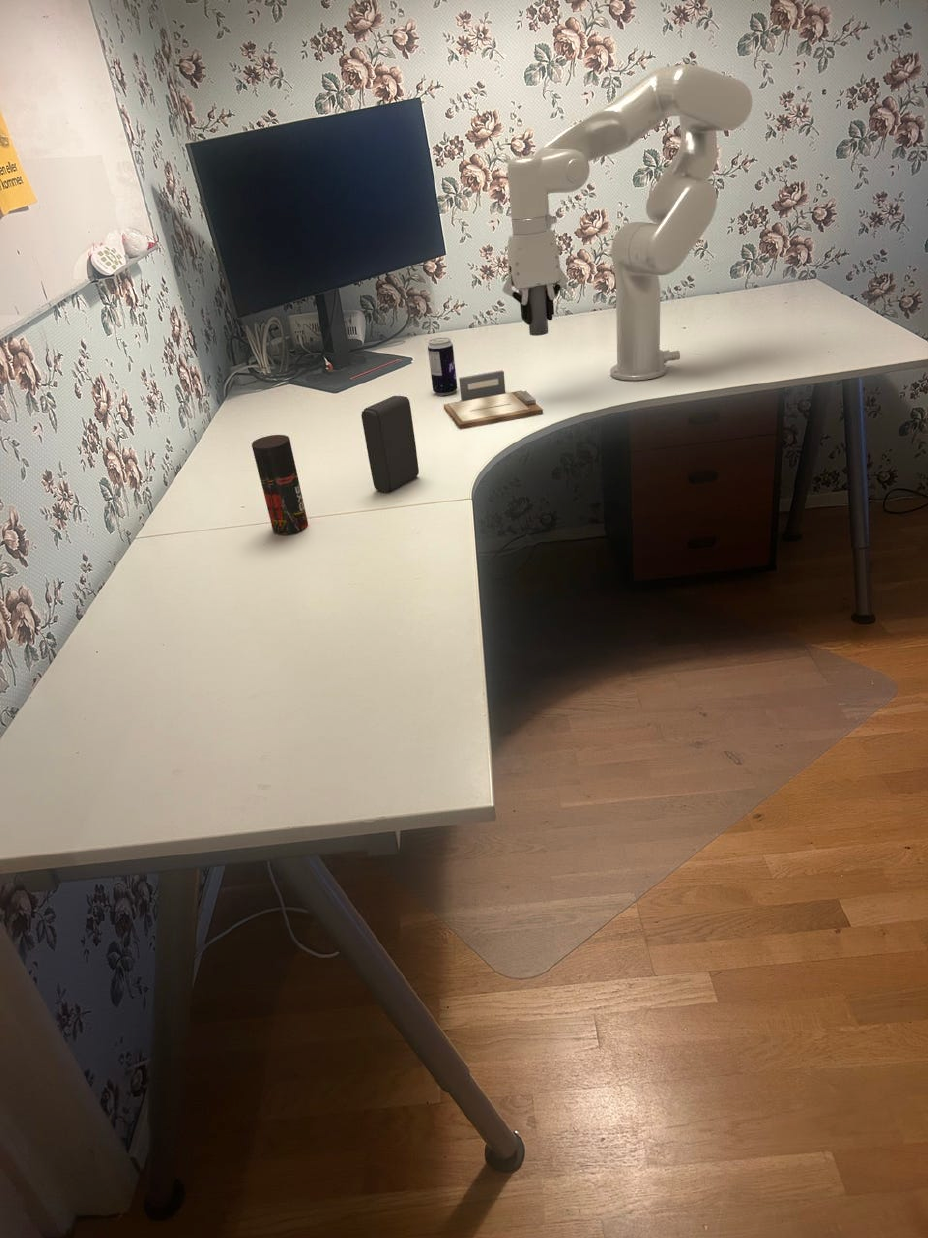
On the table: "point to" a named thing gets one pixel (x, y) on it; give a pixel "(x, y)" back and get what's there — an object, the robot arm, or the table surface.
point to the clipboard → (493, 409)
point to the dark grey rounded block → (390, 443)
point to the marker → (538, 310)
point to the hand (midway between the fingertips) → (538, 320)
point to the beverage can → (442, 366)
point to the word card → (482, 385)
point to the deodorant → (280, 484)
